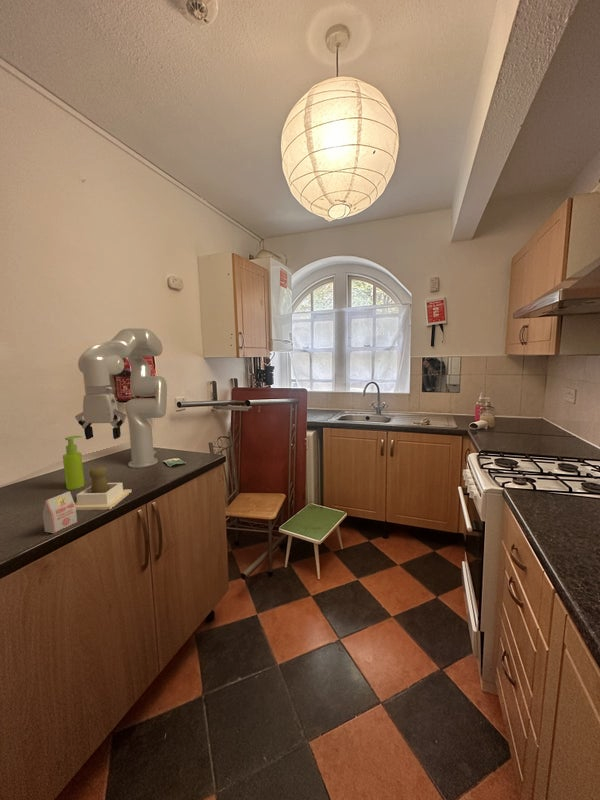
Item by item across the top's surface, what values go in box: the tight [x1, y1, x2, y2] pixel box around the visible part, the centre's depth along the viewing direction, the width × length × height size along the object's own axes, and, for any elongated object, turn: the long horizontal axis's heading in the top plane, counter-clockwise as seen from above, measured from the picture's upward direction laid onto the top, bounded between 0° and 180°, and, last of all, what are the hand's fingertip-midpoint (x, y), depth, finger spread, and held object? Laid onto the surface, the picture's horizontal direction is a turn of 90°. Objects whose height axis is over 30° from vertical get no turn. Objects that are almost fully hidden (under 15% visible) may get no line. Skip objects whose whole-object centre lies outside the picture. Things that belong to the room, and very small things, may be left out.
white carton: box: [42, 491, 78, 533], centre depth 92 cm, size 4×7×10 cm, turn 162°
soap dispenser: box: [62, 435, 85, 490], centre depth 123 cm, size 6×7×20 cm
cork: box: [89, 466, 109, 493], centre depth 110 cm, size 6×6×11 cm
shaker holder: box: [74, 482, 132, 511], centre depth 110 cm, size 14×14×4 cm
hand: (103, 438), depth 112 cm, fingers open, 9 cm apart
